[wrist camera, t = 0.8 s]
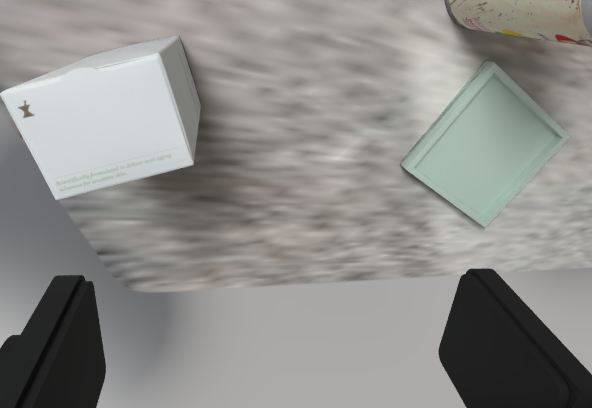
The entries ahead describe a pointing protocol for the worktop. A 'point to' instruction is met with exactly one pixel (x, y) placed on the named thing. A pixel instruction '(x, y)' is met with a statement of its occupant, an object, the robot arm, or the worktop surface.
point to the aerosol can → (527, 18)
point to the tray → (485, 145)
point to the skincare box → (110, 117)
